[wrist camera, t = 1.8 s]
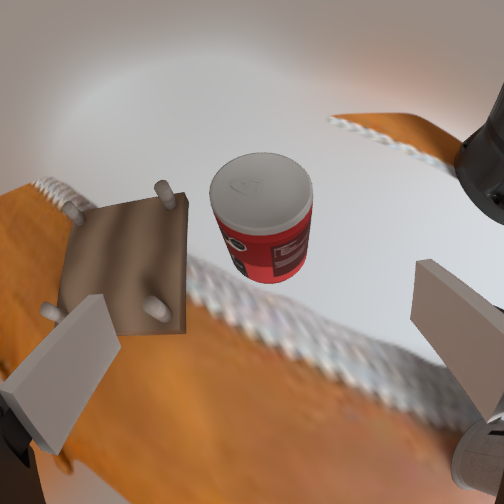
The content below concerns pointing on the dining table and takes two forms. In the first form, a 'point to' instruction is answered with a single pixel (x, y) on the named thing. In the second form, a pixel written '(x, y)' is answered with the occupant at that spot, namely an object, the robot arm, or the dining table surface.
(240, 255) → the canned food
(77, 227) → the peg board
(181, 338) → the dining table surface
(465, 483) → the grey mug
